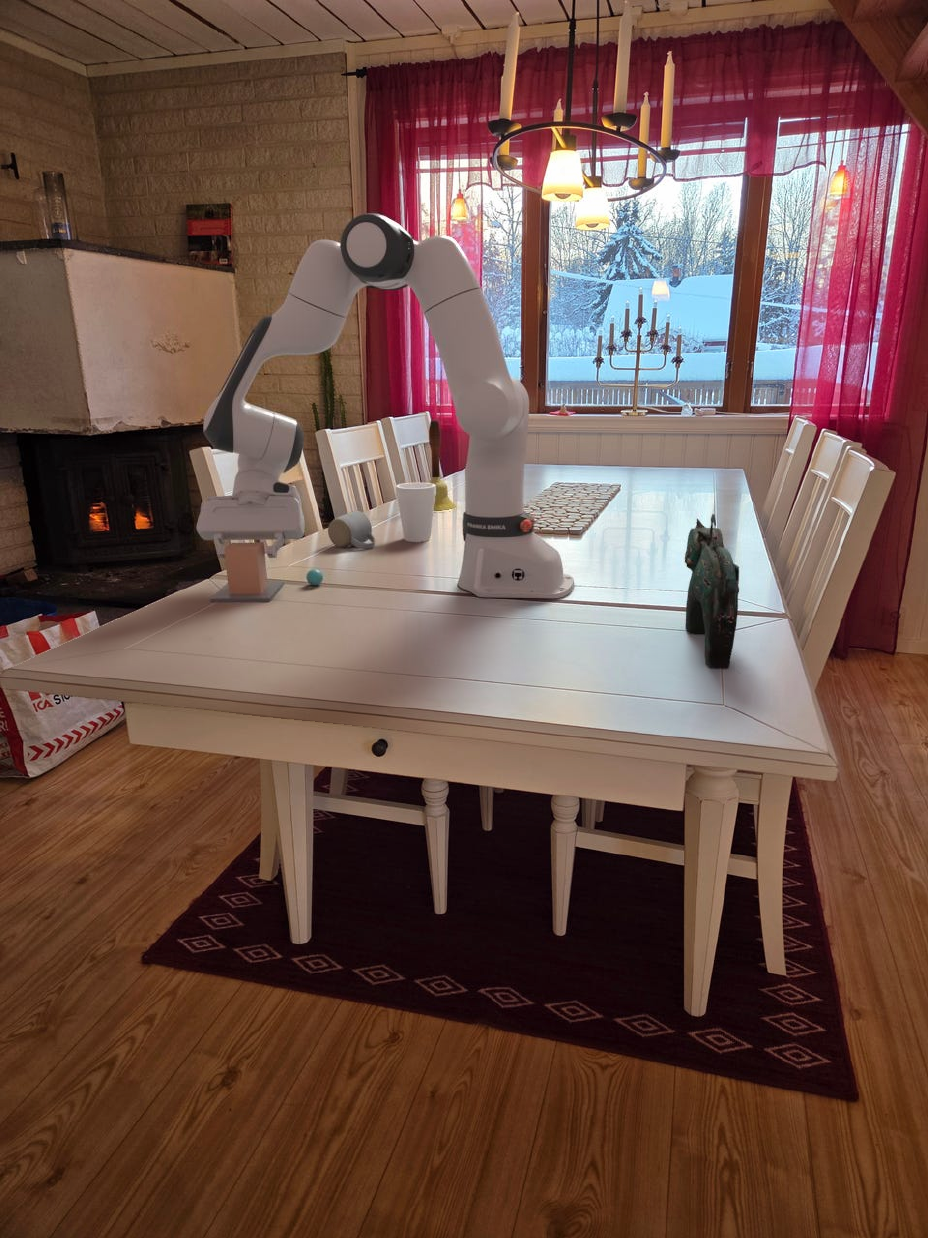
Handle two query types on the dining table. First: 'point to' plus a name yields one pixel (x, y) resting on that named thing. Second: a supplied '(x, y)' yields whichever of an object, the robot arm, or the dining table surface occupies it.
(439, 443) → the handbell
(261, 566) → the tan wooden post block
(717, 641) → the dark green horse figurine
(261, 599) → the slate coaster
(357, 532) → the ceramic mug
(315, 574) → the marble
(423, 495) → the foam cup
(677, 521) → the dining table surface
